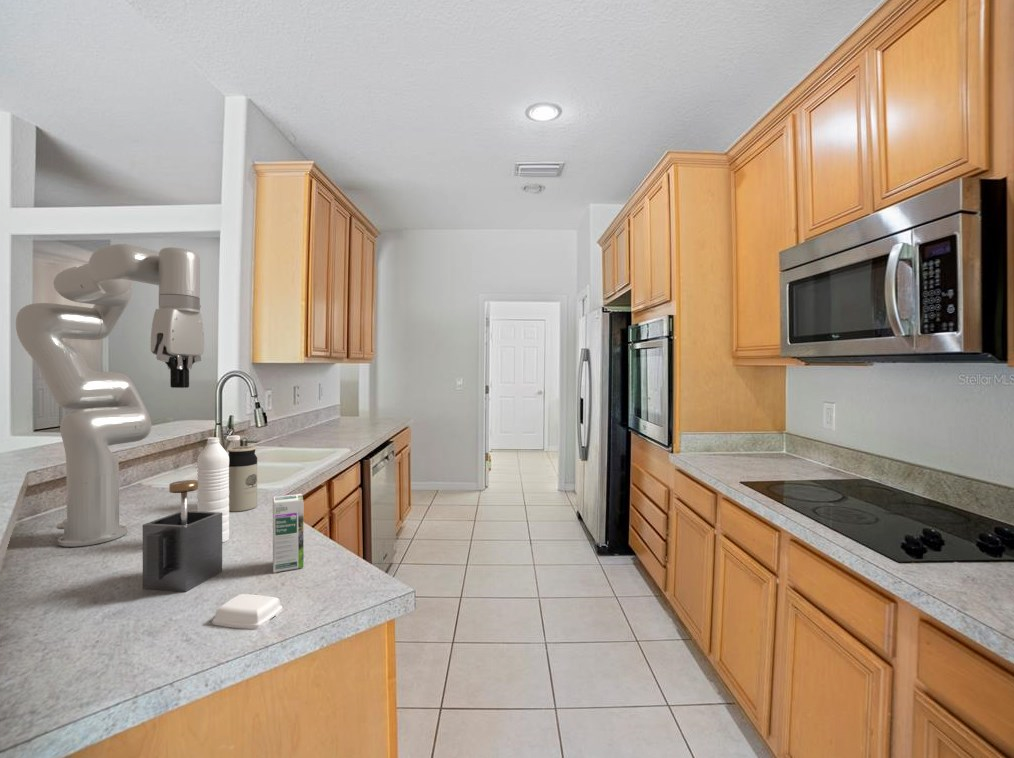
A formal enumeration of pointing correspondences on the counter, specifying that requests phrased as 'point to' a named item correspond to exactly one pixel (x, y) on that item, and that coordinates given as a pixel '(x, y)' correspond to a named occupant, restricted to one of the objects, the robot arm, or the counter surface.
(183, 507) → the plunger
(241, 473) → the travel mug
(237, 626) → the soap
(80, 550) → the counter surface
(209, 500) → the water bottle
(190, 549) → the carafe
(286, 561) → the syrup box
